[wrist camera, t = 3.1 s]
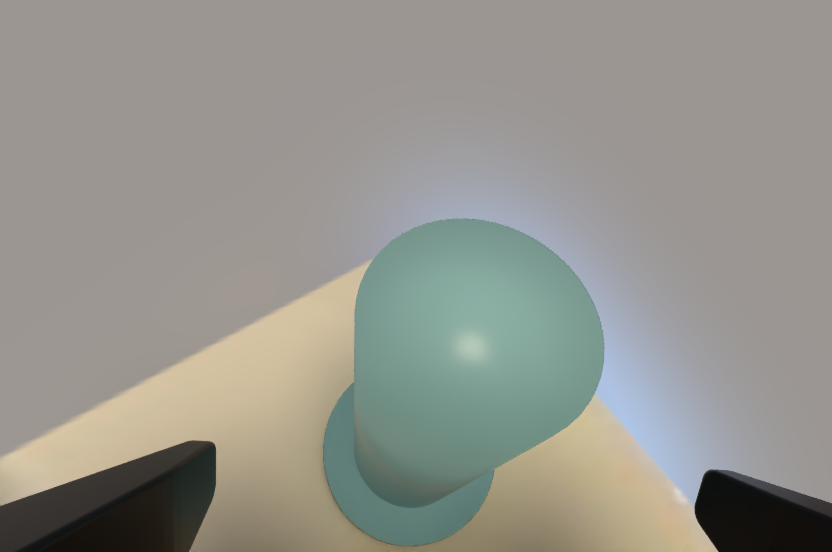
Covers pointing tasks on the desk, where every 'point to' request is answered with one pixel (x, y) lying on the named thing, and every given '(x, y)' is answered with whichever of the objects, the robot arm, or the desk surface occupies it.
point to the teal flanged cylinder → (455, 374)
